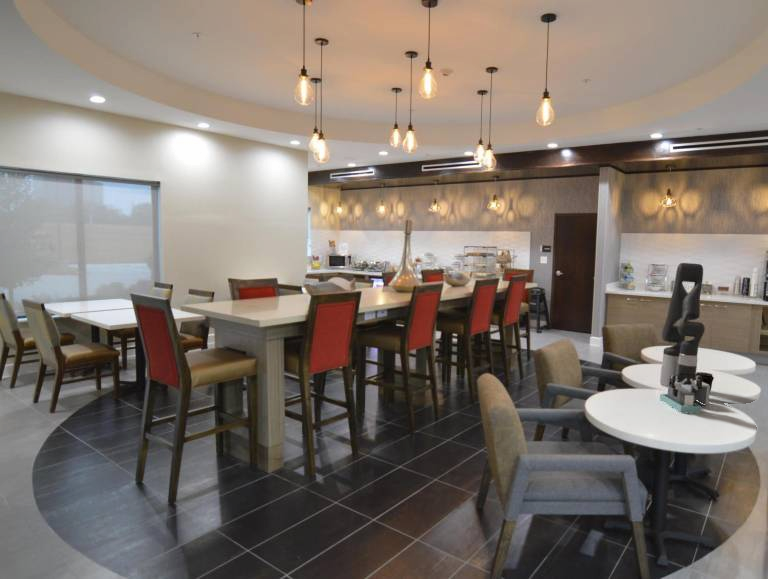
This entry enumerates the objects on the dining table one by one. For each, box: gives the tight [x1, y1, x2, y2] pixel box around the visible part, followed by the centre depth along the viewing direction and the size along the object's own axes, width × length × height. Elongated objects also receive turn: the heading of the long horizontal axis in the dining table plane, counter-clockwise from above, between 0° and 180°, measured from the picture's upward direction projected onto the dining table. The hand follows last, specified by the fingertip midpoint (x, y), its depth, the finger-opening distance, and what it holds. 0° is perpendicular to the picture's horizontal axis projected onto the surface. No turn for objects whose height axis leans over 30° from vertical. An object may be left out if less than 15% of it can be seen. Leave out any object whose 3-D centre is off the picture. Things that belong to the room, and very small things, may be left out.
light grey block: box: [681, 380, 711, 406], centre depth 250 cm, size 9×9×10 cm
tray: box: [659, 393, 702, 414], centre depth 245 cm, size 18×9×3 cm, turn 0°
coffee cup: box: [695, 371, 715, 395], centre depth 258 cm, size 9×8×13 cm
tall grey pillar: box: [667, 385, 695, 406], centre depth 244 cm, size 13×5×8 cm, turn 1°
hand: (684, 396), depth 241 cm, fingers open, 8 cm apart
